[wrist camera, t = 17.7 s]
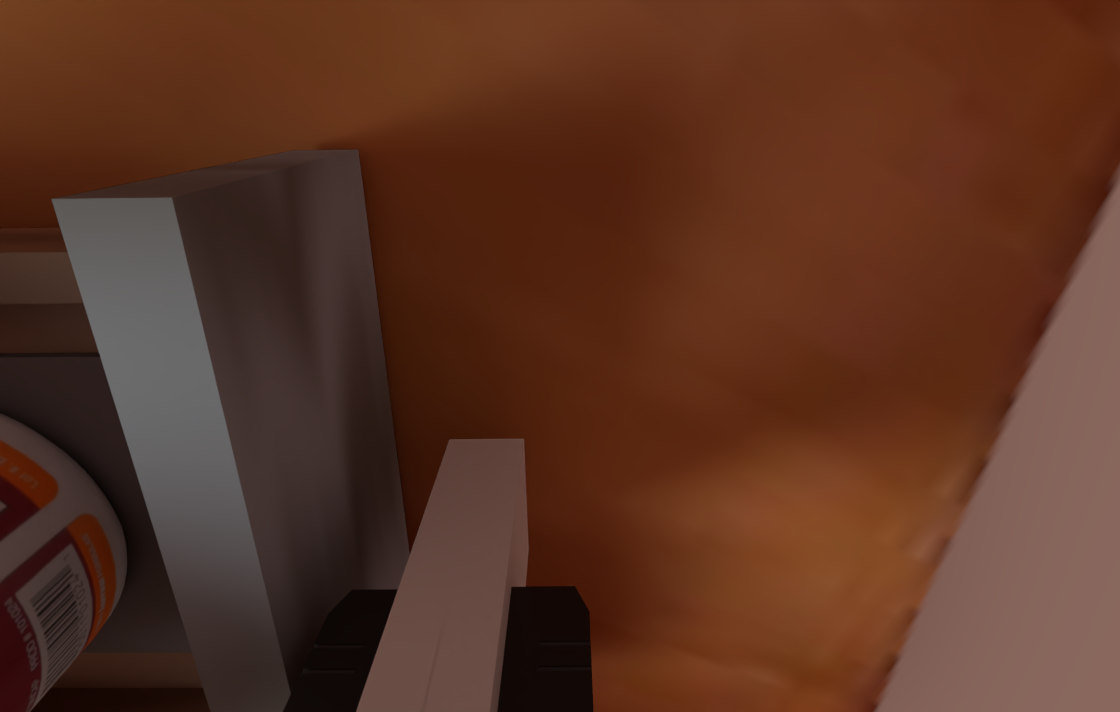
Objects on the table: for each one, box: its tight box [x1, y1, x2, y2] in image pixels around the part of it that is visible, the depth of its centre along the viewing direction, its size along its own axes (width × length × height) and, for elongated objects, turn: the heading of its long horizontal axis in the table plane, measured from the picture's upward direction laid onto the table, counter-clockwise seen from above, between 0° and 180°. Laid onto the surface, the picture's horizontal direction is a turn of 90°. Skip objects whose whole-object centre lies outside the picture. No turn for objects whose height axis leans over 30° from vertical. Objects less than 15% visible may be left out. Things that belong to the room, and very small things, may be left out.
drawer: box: [0, 149, 410, 712], centre depth 12 cm, size 14×12×6 cm
